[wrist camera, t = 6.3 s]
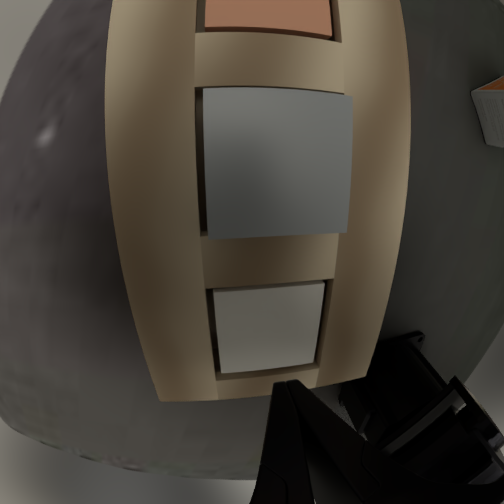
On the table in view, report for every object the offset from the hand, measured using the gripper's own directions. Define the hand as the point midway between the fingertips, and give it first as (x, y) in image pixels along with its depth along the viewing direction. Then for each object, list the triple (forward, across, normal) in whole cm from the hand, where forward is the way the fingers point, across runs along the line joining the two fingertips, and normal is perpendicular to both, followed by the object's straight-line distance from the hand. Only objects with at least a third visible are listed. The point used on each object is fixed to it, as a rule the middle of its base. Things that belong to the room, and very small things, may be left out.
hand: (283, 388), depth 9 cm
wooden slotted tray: (+7, 0, -7) cm, 10 cm away
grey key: (+4, 0, -7) cm, 8 cm away
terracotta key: (+5, 0, -14) cm, 15 cm away
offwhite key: (+5, 0, 0) cm, 5 cm away
